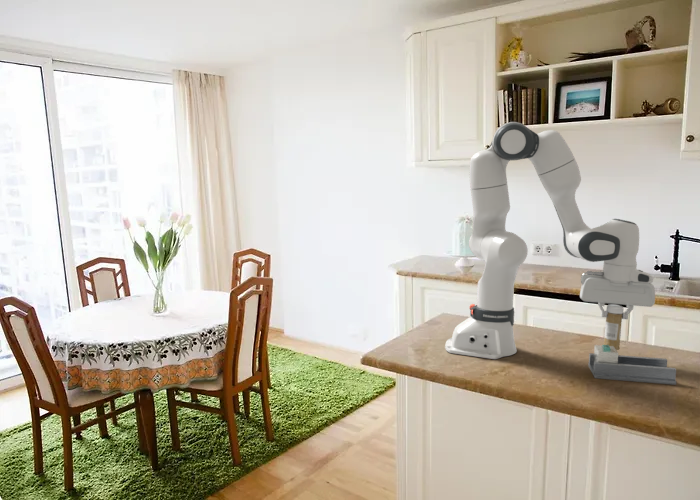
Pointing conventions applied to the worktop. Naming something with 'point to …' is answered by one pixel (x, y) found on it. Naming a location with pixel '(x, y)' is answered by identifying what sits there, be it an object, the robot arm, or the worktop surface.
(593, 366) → the rail
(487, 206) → the robot arm
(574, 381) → the worktop surface
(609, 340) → the sprinkles bottle
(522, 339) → the worktop surface
